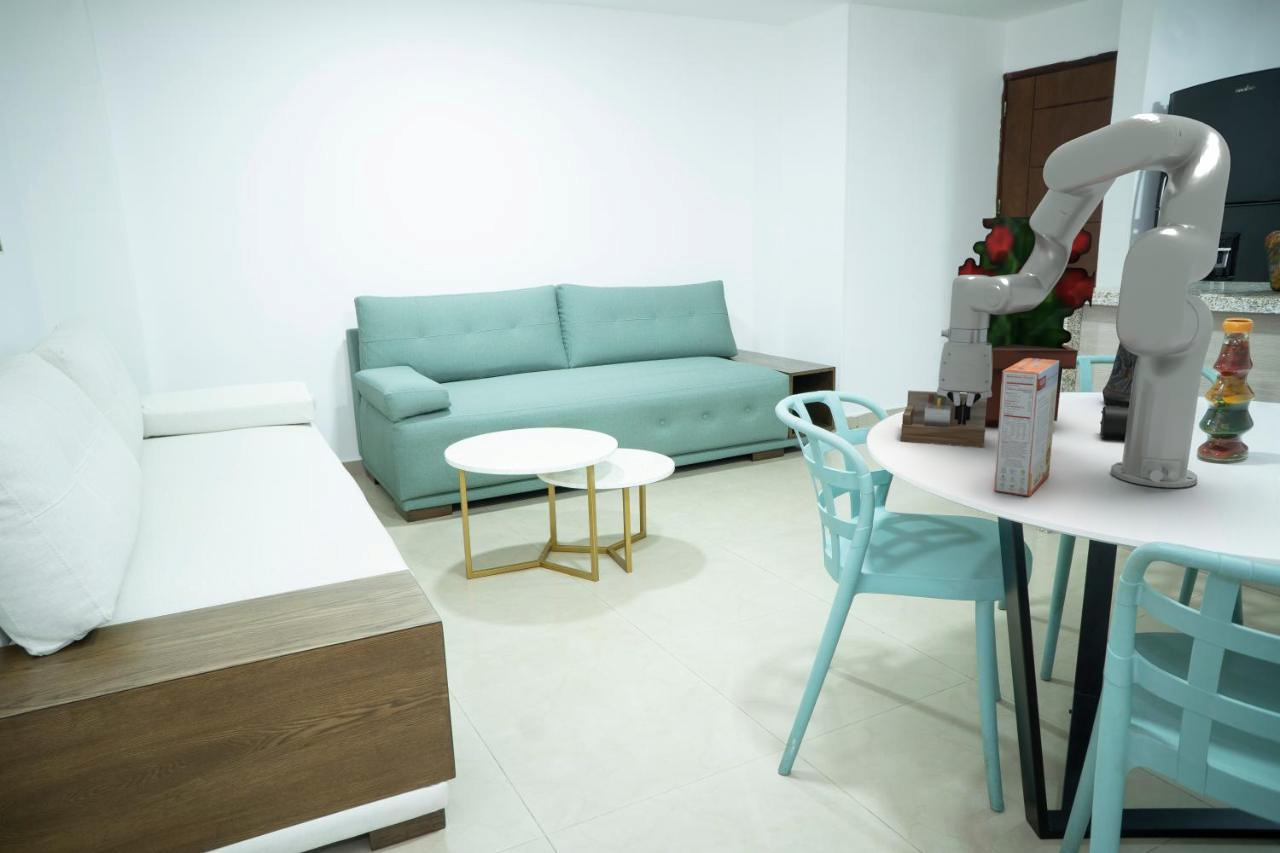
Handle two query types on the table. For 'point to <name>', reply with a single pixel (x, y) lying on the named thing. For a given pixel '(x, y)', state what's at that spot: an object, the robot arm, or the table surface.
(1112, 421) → the end cap
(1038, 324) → the potted plant
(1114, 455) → the table surface
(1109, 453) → the table surface
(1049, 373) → the cracker box
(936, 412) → the white block with knob
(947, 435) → the wooden toy tray
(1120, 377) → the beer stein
